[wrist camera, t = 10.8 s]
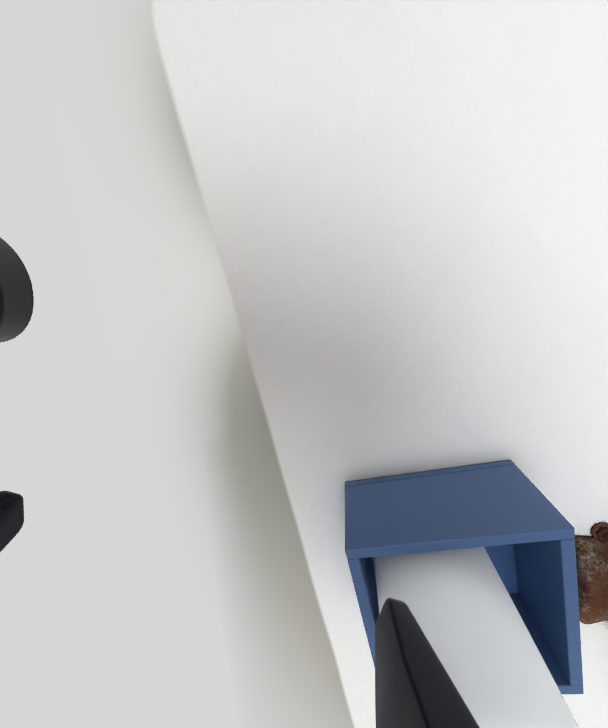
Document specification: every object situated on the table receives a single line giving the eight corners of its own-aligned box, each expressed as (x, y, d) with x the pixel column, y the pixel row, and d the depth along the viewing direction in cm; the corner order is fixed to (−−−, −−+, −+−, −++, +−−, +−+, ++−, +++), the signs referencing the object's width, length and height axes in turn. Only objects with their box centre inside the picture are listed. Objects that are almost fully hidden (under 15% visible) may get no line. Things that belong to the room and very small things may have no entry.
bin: (344, 481, 21) (344, 550, 16) (510, 459, 19) (574, 527, 14) (373, 601, 23) (382, 697, 18) (524, 592, 21) (584, 694, 16)
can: (463, 486, 19) (641, 790, 8) (482, 569, 21) (657, 935, 9) (360, 504, 20) (381, 791, 9) (384, 582, 22) (429, 918, 10)
